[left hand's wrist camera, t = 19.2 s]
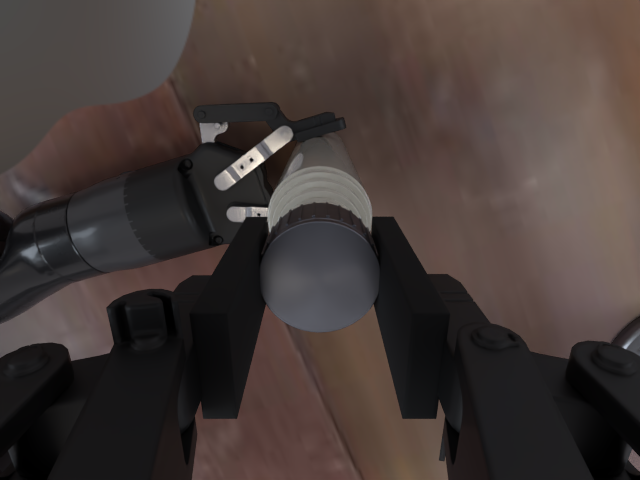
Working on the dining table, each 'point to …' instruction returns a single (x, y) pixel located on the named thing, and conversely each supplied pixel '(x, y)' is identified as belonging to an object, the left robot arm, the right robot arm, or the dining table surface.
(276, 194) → the bottle
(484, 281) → the dining table surface
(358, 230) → the cap
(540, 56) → the dining table surface
